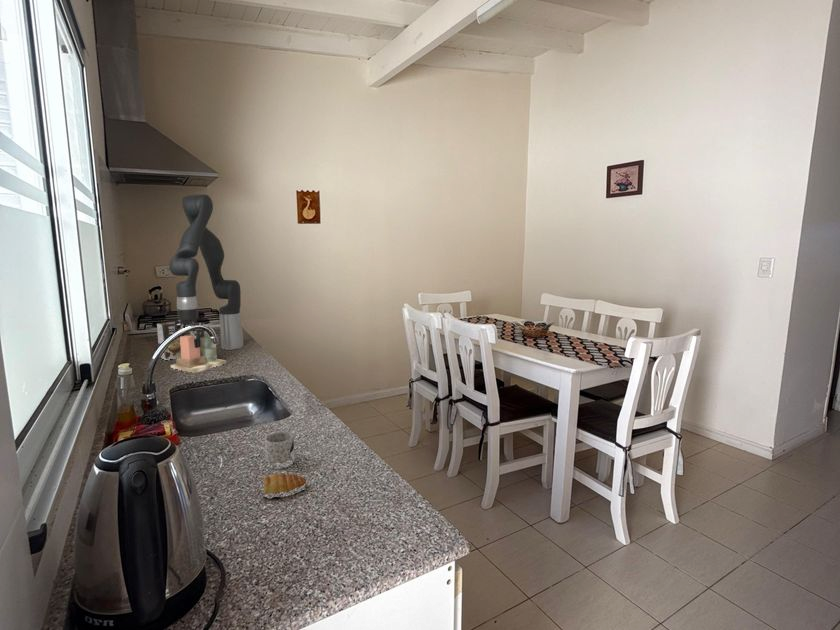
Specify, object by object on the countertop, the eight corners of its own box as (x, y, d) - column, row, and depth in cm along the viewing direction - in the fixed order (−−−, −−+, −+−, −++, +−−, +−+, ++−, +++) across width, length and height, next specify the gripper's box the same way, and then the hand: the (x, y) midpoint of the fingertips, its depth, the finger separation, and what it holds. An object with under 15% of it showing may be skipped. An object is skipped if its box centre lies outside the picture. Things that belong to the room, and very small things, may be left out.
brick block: (192, 355, 201) (190, 334, 200) (200, 356, 199) (198, 335, 198) (181, 358, 197) (179, 336, 196) (189, 359, 195) (188, 337, 193)
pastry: (305, 480, 109) (305, 465, 108) (308, 496, 102) (308, 479, 102) (262, 487, 106) (261, 471, 105) (262, 503, 99) (261, 486, 99)
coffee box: (166, 361, 210) (162, 324, 207) (159, 358, 213) (155, 323, 211) (186, 357, 217) (183, 321, 214) (179, 354, 221) (176, 320, 218)
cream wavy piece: (203, 359, 212) (201, 329, 210) (226, 363, 206) (224, 332, 204) (170, 368, 198) (168, 336, 196) (194, 373, 192) (191, 340, 190)
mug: (297, 465, 115) (296, 439, 114) (269, 472, 112) (268, 445, 111) (287, 449, 124) (286, 425, 123) (260, 455, 121) (259, 430, 120)
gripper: (207, 307, 195) (210, 346, 198) (183, 305, 201) (186, 342, 204) (191, 310, 188) (194, 350, 191) (167, 307, 194) (170, 346, 197)
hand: (190, 346), depth 197 cm, fingers open, 8 cm apart
